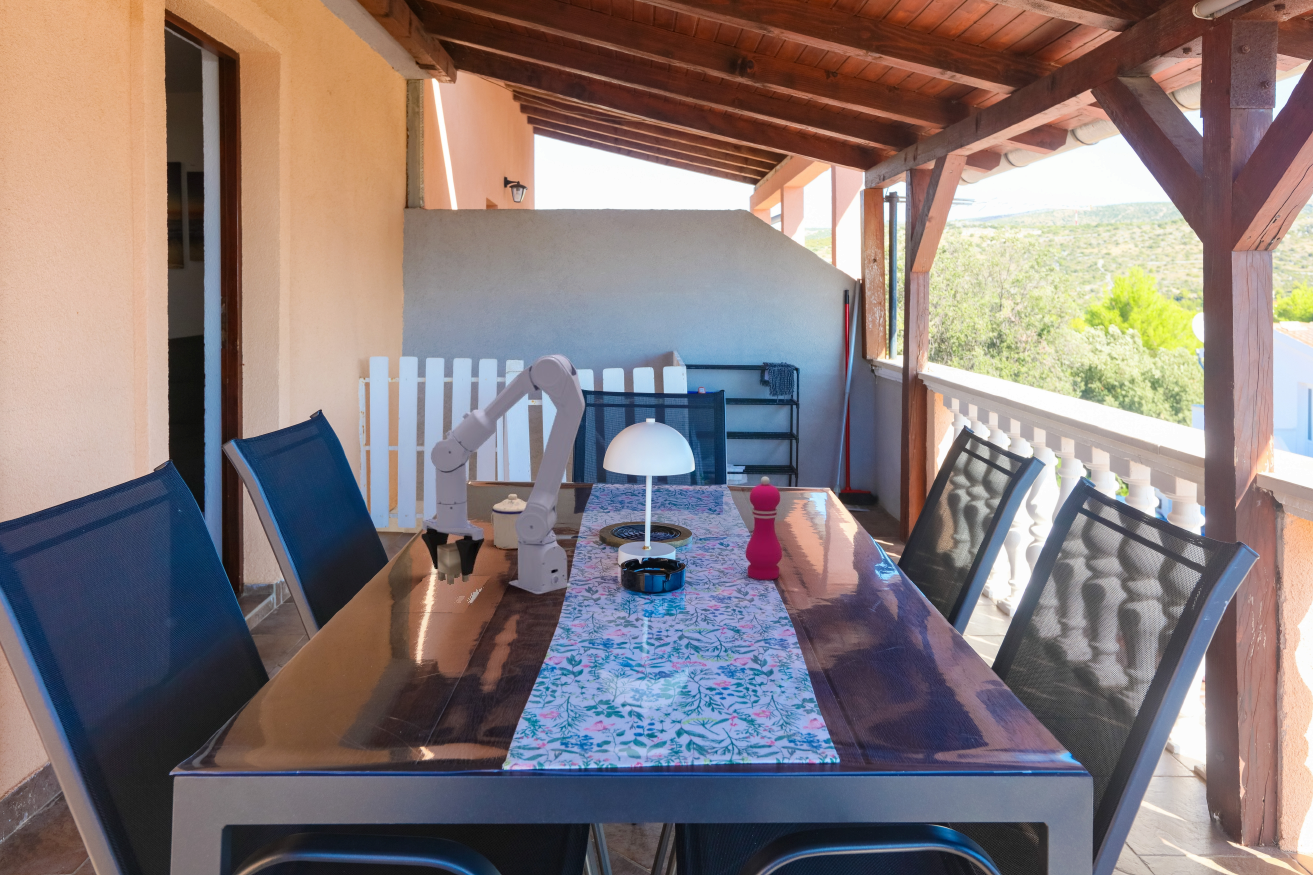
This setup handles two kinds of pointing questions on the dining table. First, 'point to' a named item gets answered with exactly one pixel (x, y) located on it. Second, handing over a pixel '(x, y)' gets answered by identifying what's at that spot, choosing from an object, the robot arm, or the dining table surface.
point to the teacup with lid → (506, 521)
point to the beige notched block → (449, 563)
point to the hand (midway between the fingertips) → (453, 571)
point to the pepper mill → (764, 533)
